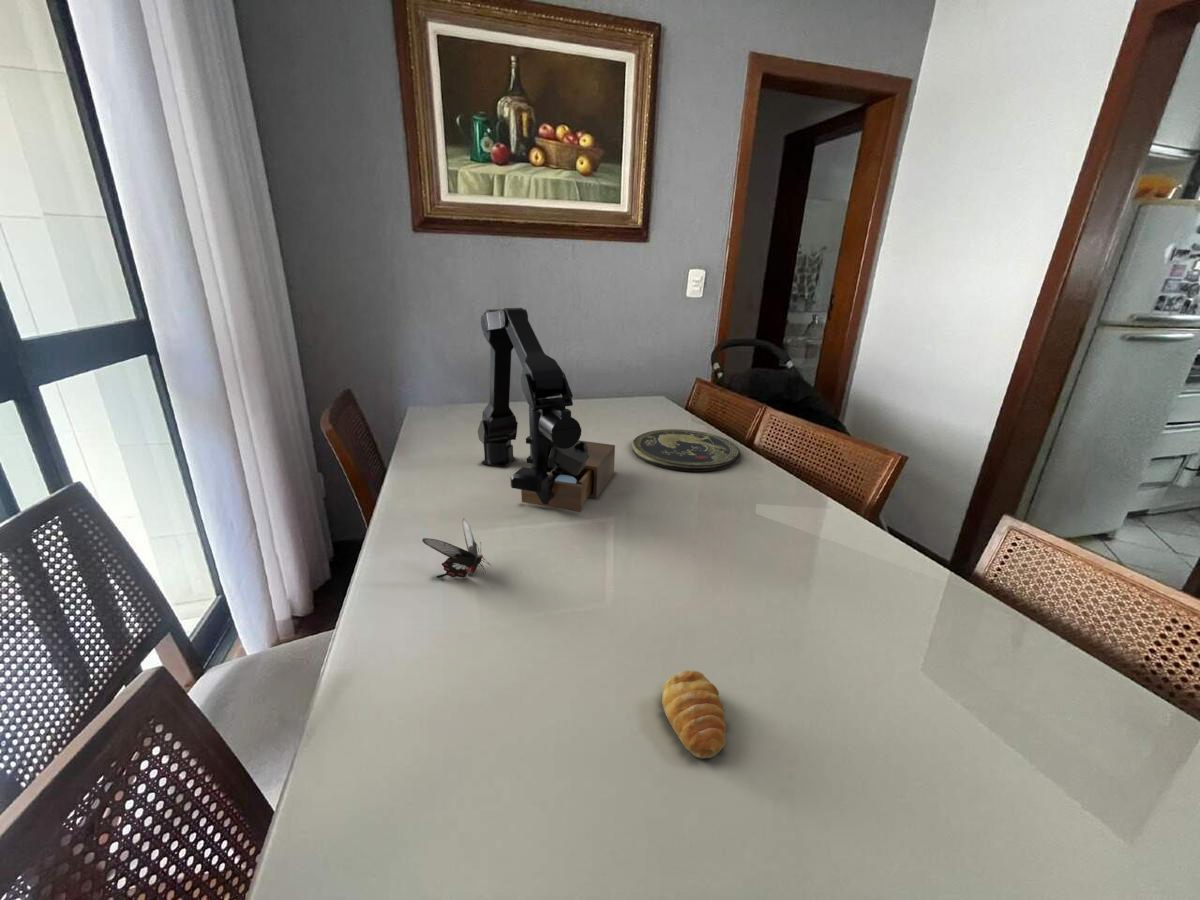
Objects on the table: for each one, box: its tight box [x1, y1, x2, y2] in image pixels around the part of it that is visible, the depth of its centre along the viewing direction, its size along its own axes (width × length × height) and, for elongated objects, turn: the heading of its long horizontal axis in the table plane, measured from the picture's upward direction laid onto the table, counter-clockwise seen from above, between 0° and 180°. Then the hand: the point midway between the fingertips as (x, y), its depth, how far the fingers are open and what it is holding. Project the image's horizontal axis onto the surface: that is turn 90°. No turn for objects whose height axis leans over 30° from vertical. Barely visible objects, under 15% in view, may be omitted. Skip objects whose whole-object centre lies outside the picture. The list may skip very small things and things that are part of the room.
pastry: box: [661, 670, 727, 759], centre depth 55 cm, size 9×7×4 cm
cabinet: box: [574, 439, 616, 499], centre depth 115 cm, size 15×15×8 cm
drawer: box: [520, 466, 594, 513], centre depth 106 cm, size 15×13×6 cm
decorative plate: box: [631, 428, 741, 472], centre depth 136 cm, size 30×2×30 cm
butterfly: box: [421, 517, 491, 579], centre depth 79 cm, size 11×8×10 cm
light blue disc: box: [555, 475, 577, 484], centre depth 107 cm, size 7×7×2 cm
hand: (545, 503), depth 99 cm, fingers closed
